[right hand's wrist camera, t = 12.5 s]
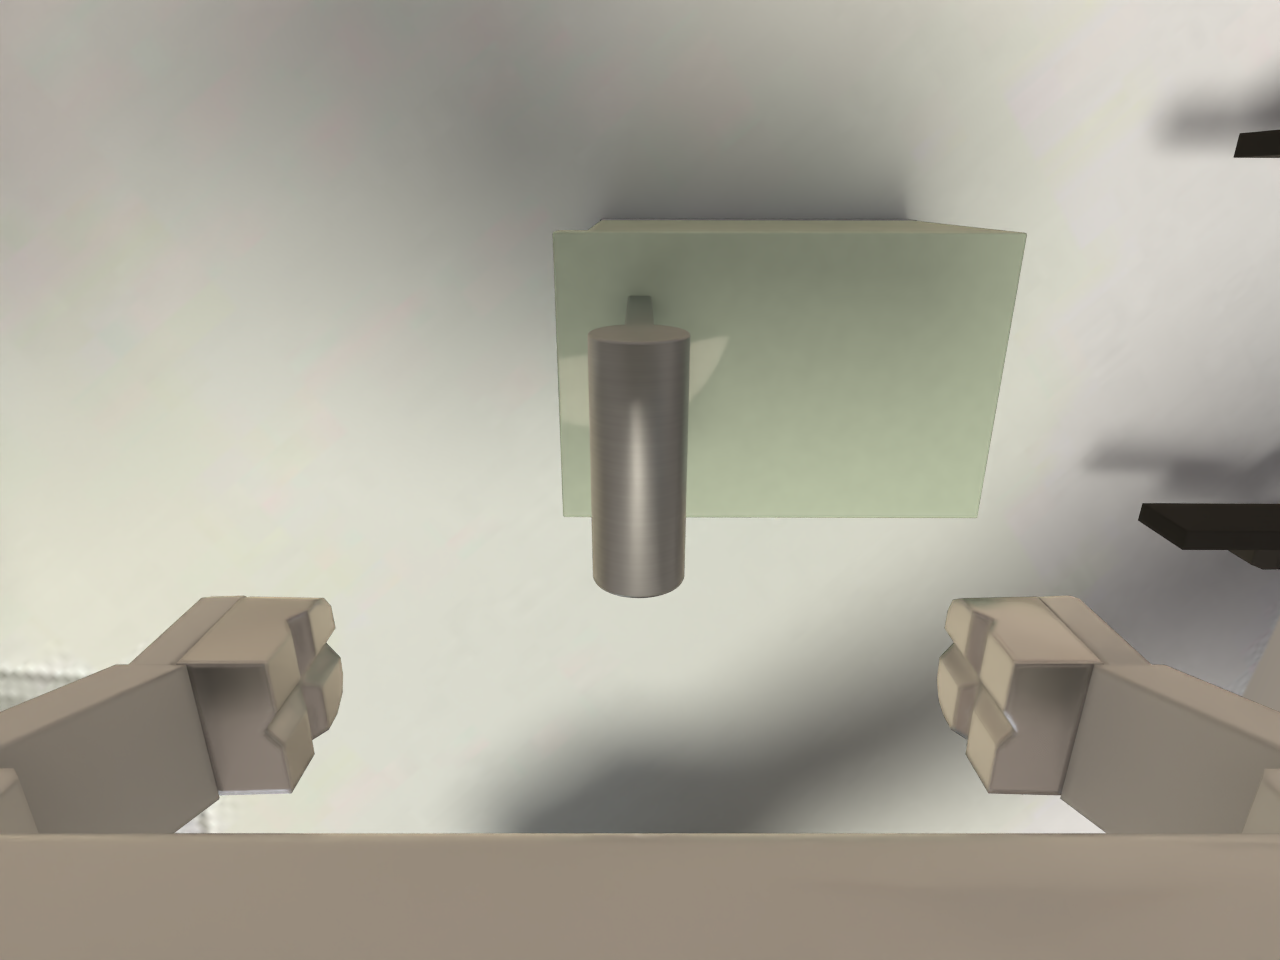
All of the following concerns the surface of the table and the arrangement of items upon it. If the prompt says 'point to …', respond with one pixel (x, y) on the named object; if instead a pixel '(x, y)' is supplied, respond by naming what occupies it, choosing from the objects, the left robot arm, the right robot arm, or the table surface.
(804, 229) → the chest
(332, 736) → the table surface
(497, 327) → the table surface
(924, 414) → the box cover with handle
